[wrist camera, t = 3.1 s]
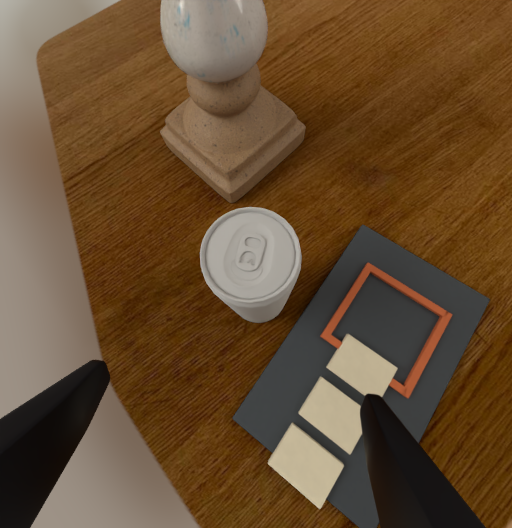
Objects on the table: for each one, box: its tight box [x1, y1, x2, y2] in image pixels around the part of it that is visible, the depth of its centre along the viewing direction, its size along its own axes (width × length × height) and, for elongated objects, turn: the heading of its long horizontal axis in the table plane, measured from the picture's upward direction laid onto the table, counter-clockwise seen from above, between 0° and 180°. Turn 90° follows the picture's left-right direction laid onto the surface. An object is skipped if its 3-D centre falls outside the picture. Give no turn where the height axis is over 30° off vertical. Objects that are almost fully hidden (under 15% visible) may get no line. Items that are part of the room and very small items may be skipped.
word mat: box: [233, 225, 490, 528], centre depth 21 cm, size 21×12×1 cm, turn 144°
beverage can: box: [200, 207, 302, 323], centre depth 17 cm, size 5×5×12 cm
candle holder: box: [160, 0, 306, 203], centre depth 16 cm, size 11×11×24 cm
